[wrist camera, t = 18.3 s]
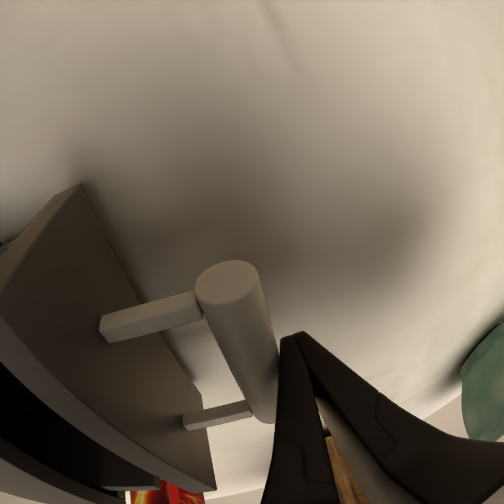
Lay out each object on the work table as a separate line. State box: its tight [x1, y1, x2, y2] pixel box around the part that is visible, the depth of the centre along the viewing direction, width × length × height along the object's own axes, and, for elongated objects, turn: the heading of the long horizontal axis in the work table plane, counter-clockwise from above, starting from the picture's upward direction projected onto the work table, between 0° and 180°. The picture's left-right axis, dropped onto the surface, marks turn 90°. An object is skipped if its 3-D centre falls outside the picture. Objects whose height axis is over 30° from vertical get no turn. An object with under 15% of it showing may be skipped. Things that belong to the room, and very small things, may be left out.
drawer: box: [0, 184, 279, 493], centre depth 9 cm, size 18×12×6 cm
